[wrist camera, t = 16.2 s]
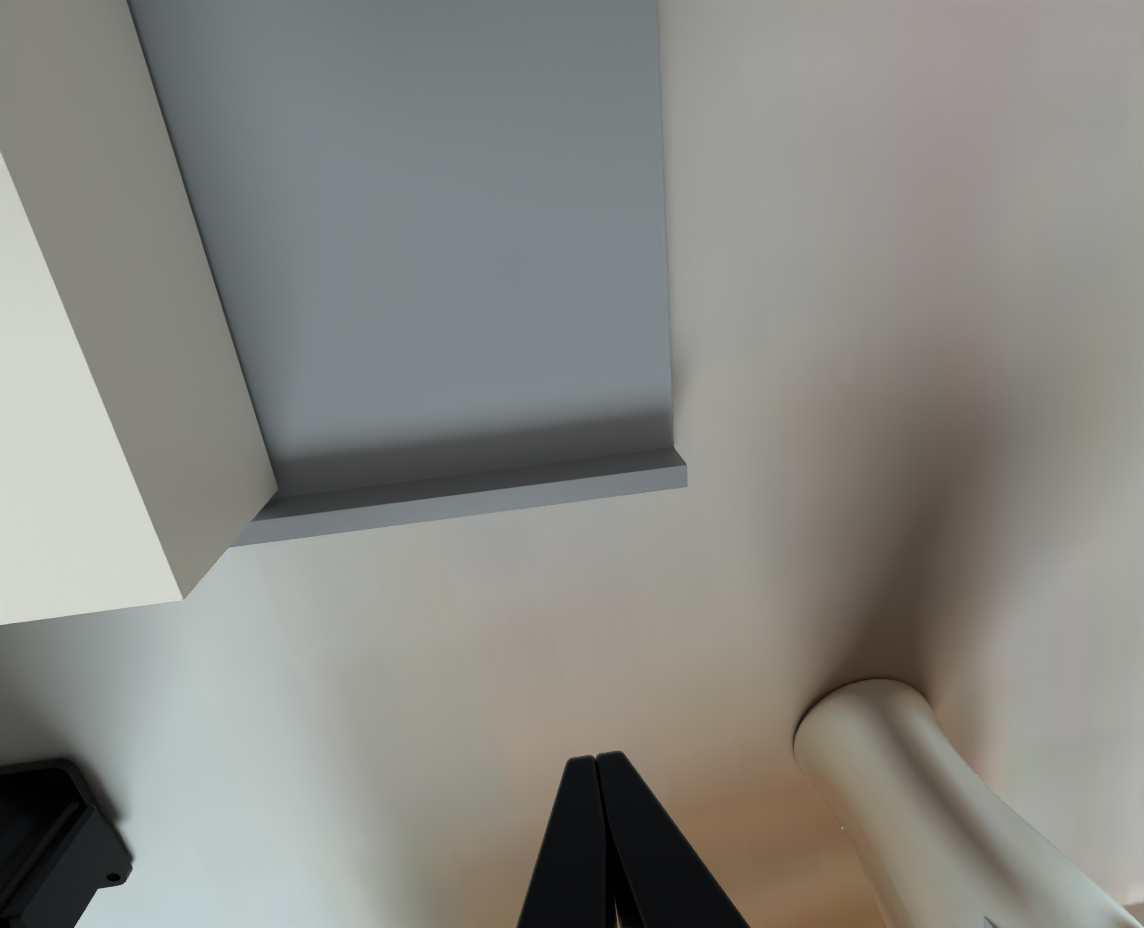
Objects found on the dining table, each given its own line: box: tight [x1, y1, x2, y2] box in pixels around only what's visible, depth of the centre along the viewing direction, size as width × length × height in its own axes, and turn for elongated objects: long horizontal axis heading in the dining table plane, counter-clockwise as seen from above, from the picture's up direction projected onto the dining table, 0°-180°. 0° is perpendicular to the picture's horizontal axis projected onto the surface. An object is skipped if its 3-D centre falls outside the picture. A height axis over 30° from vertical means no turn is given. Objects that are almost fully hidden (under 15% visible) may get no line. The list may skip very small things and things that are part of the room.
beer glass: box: [794, 679, 1144, 928], centre depth 19 cm, size 7×7×15 cm
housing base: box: [126, 0, 687, 547], centre depth 16 cm, size 22×16×3 cm
